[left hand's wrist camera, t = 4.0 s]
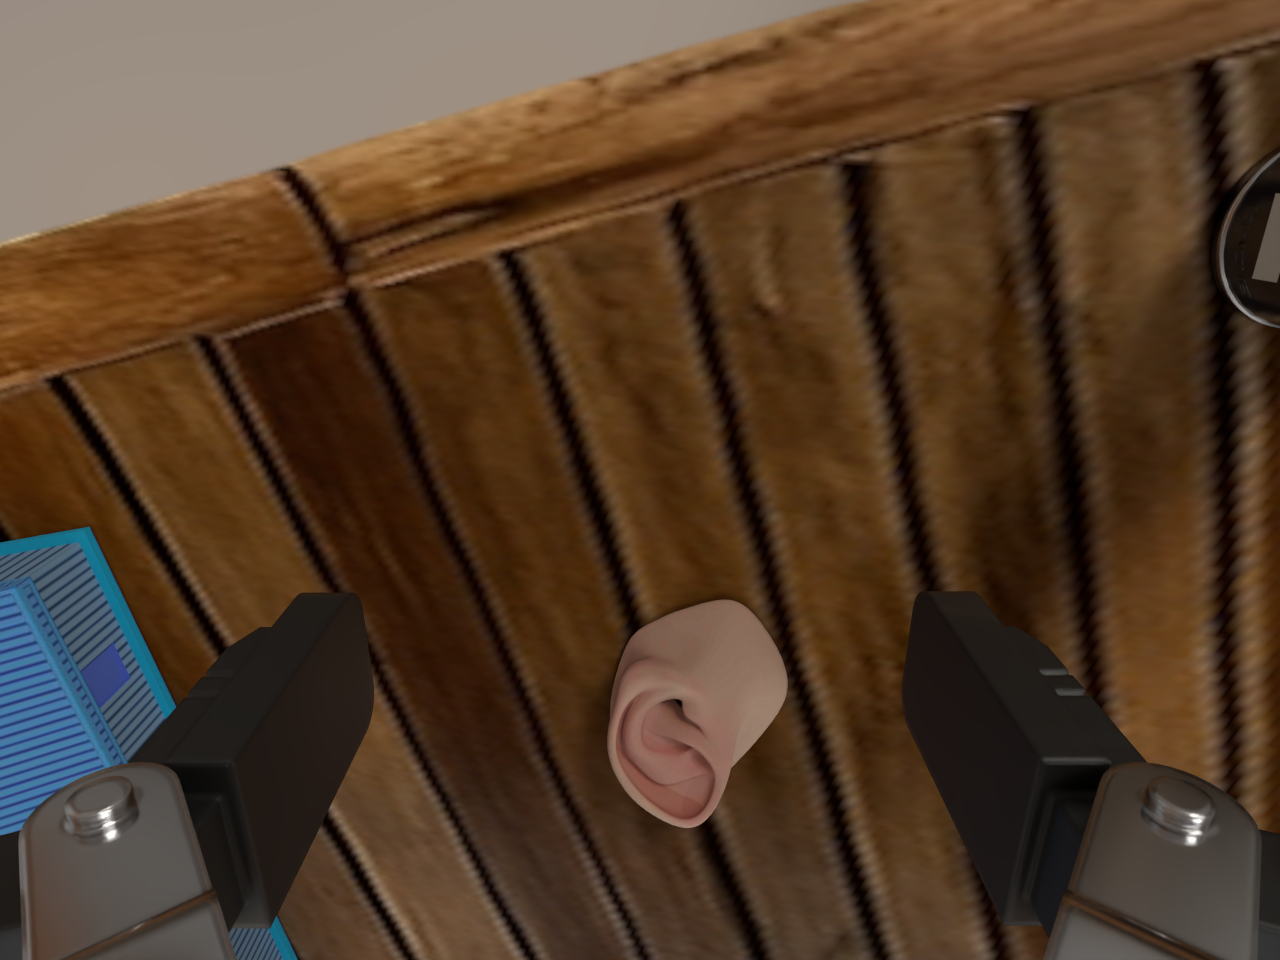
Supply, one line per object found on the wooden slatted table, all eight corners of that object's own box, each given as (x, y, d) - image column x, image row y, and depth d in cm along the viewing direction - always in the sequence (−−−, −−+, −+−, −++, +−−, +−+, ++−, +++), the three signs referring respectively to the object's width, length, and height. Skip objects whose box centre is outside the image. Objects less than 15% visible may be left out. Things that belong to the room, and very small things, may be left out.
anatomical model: (709, 603, 43) (850, 723, 46) (703, 569, 46) (834, 682, 49) (547, 748, 46) (687, 851, 49) (554, 705, 50) (684, 803, 53)
